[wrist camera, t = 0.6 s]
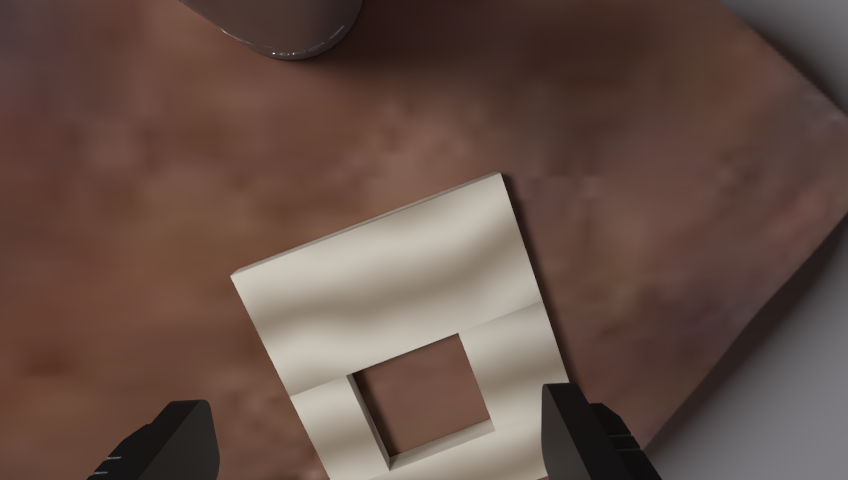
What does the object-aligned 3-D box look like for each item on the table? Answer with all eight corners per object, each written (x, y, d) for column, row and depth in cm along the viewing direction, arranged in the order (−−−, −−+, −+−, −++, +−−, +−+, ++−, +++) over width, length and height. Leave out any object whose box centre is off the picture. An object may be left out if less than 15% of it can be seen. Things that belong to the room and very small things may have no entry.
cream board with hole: (237, 269, 30) (230, 276, 29) (495, 171, 30) (500, 173, 29) (364, 529, 35) (363, 546, 34) (585, 444, 35) (593, 457, 34)
